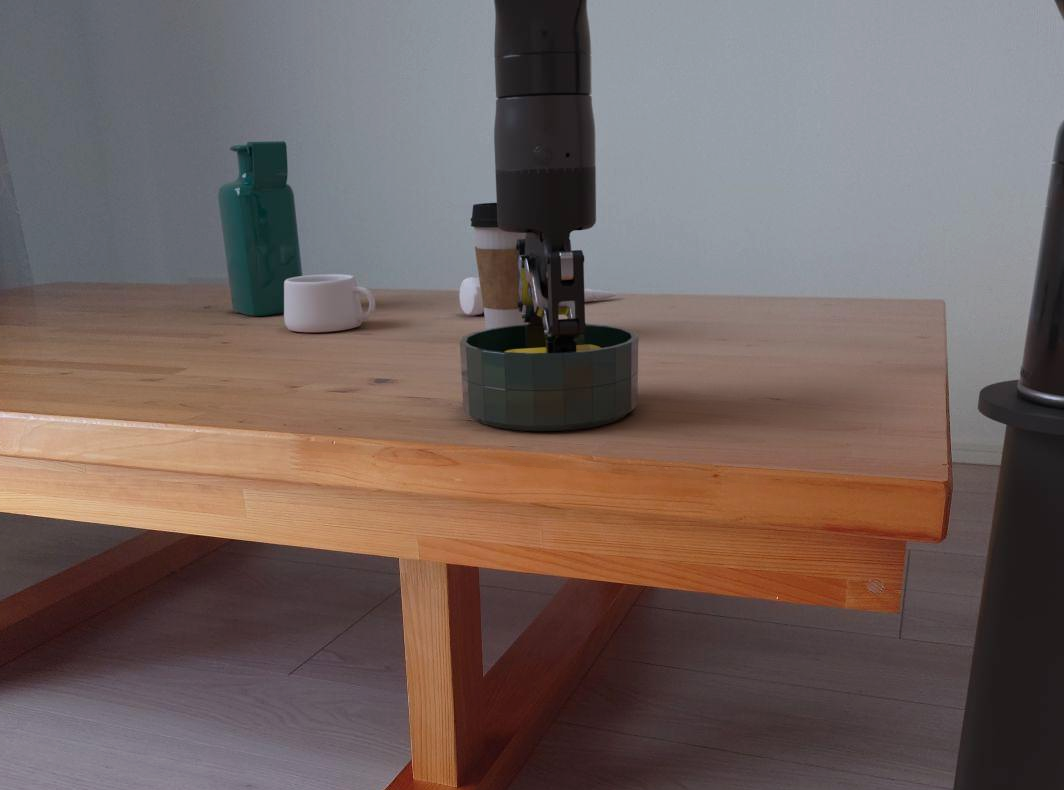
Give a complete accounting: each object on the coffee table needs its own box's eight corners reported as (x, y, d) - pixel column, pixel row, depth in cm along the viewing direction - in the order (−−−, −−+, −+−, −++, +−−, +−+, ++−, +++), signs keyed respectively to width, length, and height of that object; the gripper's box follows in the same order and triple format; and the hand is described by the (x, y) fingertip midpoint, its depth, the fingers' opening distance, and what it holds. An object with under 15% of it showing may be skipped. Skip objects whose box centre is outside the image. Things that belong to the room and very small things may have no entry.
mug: (270, 333, 123) (264, 282, 121) (308, 320, 132) (303, 273, 129) (360, 335, 120) (355, 283, 117) (393, 322, 128) (389, 273, 126)
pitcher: (228, 312, 141) (205, 143, 133) (282, 305, 146) (264, 142, 138) (259, 318, 134) (238, 141, 126) (316, 311, 139) (298, 140, 131)
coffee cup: (527, 346, 110) (522, 201, 104) (461, 341, 113) (454, 201, 108) (562, 333, 116) (560, 196, 111) (499, 329, 120) (494, 197, 115)
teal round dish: (653, 396, 86) (654, 325, 84) (611, 439, 74) (611, 357, 71) (500, 388, 90) (498, 321, 88) (436, 427, 78) (431, 350, 76)
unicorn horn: (630, 301, 139) (631, 265, 137) (472, 318, 129) (470, 280, 128) (613, 297, 143) (613, 262, 141) (458, 314, 133) (456, 276, 132)
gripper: (619, 162, 69) (619, 394, 75) (572, 161, 82) (575, 359, 88) (512, 166, 68) (520, 401, 74) (482, 164, 81) (491, 365, 87)
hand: (550, 378), depth 81 cm, fingers open, 8 cm apart
